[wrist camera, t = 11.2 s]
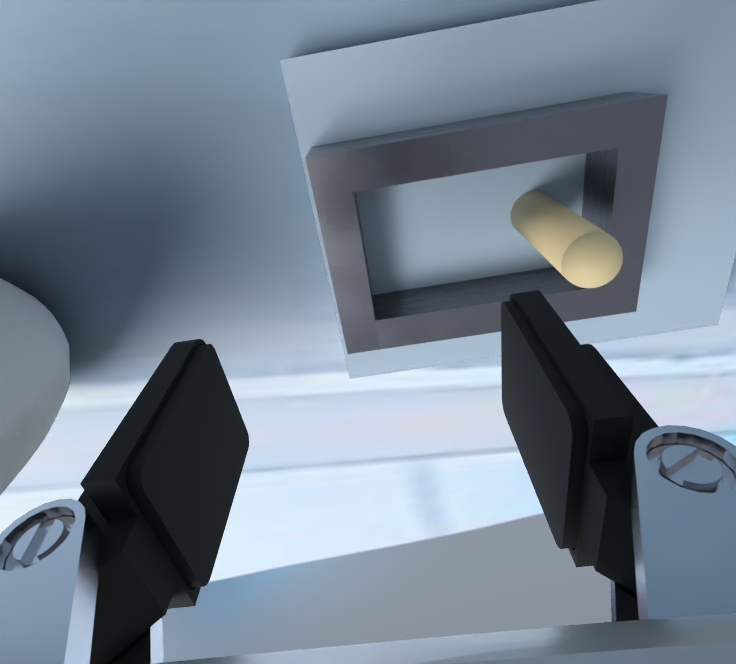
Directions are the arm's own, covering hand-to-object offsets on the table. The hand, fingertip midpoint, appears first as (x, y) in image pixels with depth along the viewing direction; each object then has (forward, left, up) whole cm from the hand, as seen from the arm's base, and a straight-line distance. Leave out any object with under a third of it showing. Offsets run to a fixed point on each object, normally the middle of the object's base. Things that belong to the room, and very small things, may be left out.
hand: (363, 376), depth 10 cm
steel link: (-5, 0, -11) cm, 12 cm away
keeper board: (-7, 0, -13) cm, 15 cm away
